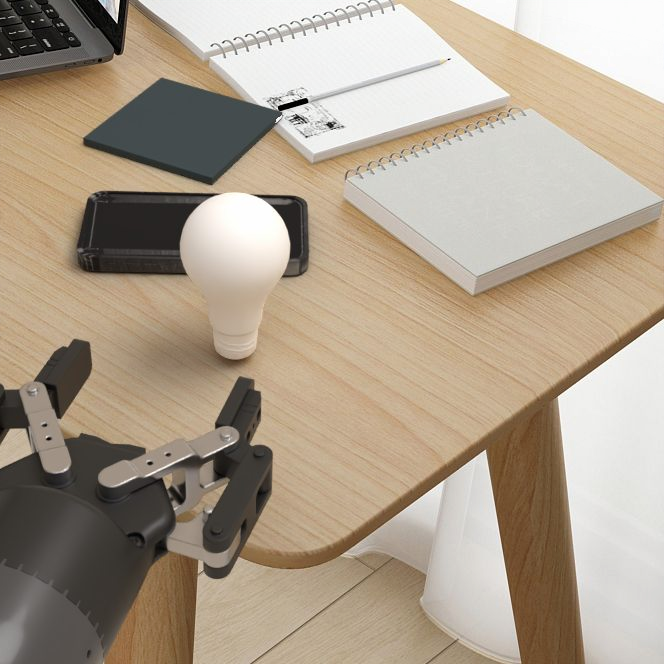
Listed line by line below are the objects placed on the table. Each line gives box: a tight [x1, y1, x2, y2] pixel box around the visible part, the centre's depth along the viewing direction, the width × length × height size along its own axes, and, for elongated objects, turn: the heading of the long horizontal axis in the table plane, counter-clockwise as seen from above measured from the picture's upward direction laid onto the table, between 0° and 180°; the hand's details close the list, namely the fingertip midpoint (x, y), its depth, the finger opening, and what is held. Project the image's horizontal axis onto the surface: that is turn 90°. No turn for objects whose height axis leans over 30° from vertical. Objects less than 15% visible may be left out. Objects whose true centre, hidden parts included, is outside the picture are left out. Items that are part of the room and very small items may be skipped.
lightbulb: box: [180, 191, 290, 360], centre depth 68 cm, size 6×6×11 cm
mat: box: [82, 77, 283, 185], centre depth 91 cm, size 11×11×1 cm
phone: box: [76, 190, 310, 276], centre depth 80 cm, size 8×1×15 cm
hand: (164, 371), depth 59 cm, fingers open, 8 cm apart
